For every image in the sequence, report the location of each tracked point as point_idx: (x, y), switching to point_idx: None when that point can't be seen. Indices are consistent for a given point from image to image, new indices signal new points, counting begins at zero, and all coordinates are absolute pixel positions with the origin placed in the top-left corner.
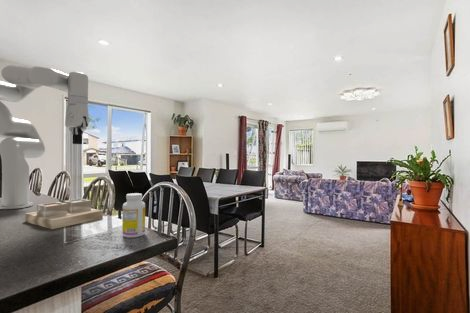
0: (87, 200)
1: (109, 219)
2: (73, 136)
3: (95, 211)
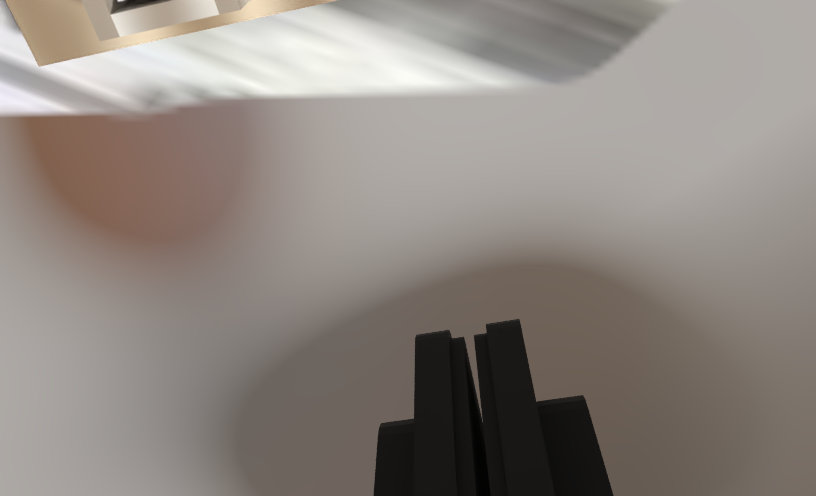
0: (103, 13)
1: (9, 69)
2: (503, 494)
3: (28, 15)
